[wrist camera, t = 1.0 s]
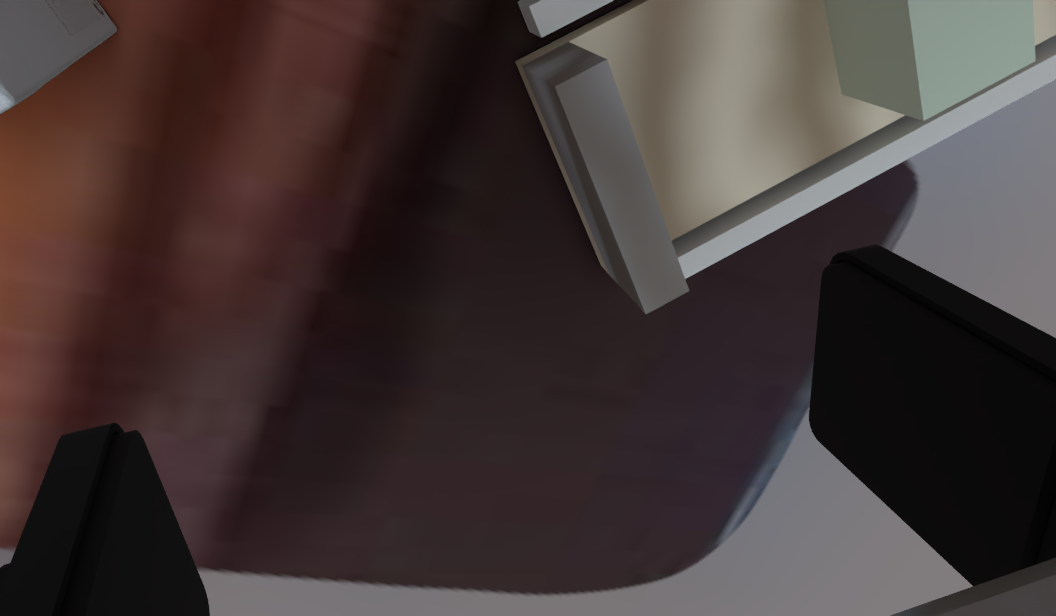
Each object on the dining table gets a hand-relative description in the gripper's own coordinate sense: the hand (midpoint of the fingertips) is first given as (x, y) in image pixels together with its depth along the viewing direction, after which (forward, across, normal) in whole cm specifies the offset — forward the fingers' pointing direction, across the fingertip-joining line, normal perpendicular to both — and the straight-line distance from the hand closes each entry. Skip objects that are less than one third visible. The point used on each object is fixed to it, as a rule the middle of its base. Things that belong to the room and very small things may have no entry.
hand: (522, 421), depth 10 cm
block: (+21, -22, 0) cm, 30 cm away
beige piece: (+22, -19, 0) cm, 29 cm away
